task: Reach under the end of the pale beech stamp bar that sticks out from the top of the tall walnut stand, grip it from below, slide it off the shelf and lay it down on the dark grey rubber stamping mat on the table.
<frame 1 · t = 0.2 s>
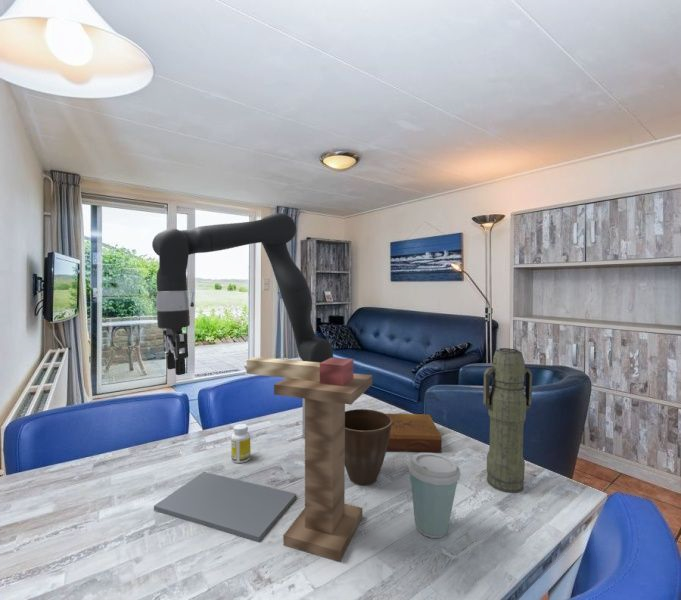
hand: (176, 371, 93), 29 cm above the table, tool pointing down, fingers open, 8 cm apart
disposable coffee cup: (433, 529, 77), on the table
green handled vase: (504, 484, 94), on the table
stamp stand: (325, 530, 76), on the table
diary: (399, 440, 121), on the table
stamp bar: (287, 375, 78), point 32 cm above the table, touching stamp stand
stamping mat: (227, 503, 85), on the table
supplement bottle: (241, 459, 106), on the table
plant pot: (362, 478, 96), on the table
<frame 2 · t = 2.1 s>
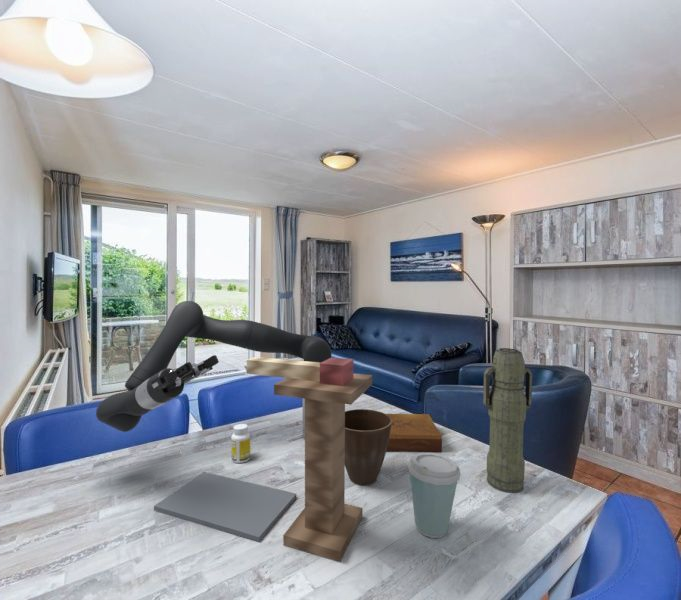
hand: (204, 362, 85), 33 cm above the table, tool pointing upward, fingers open, 8 cm apart
nothing on the table moved.
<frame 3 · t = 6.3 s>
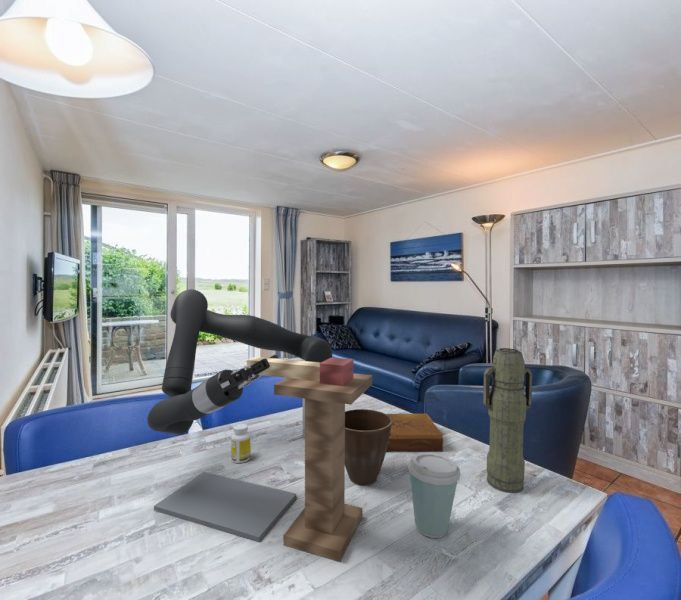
hand: (272, 360, 79), 35 cm above the table, tool pointing upward, fingers closed on stamp bar, 3 cm apart
stamp bar: (287, 375, 78), point 32 cm above the table, touching gripper, stamp stand
everything else where it was.
when the fingers open (12 cm above the table, at t = 15.3 s): stamp bar drops 7 cm, resting on stamping mat.
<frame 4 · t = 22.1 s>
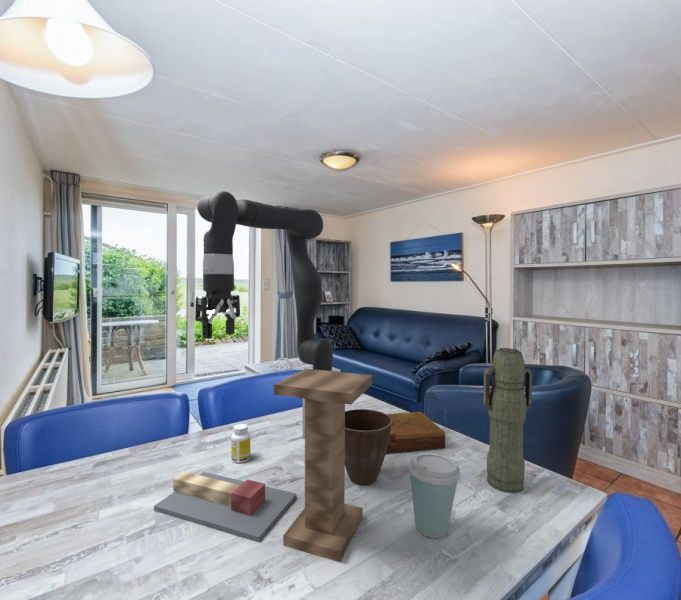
hand: (219, 336, 93), 38 cm above the table, tool pointing down, fingers open, 8 cm apart
stamp bar: (208, 494, 87), point 1 cm above the table, touching stamping mat
at the end: stamp bar inside the target area on the stamping mat (5.6 cm from its centre), point 1.0 cm above the stamping mat's base; the gripper is holding nothing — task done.
